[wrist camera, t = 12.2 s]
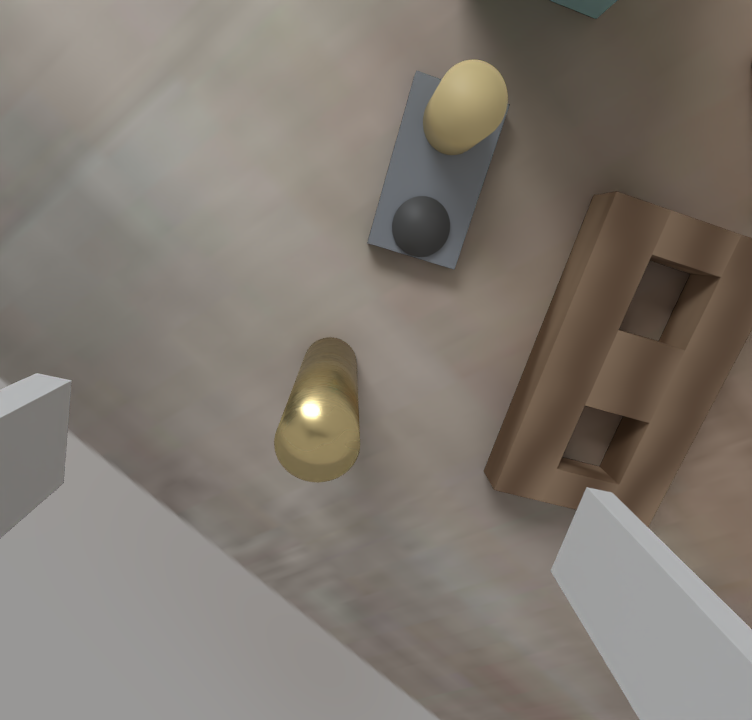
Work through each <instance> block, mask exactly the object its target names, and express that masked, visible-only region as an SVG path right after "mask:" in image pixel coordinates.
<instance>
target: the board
mask: <svg viewBox="0 0 752 720" xmlns="http://www.w3.org/2000/svg"><path fill="white" fill-rule="evenodd" d="M649 260H650V261H653V262H656V263H659V264H662V265H665V266H668V267H671V268H674V269H677V270H680V271H683V272H687V273H690V276H689V278H688V280H687V282H686V285H685V287H684V289H683V291H682V293H681V295H680V297H679V299H678V302H677V304H676V306H675V308H674V310H673V312H672V314H671V316H670V318H669V321H668V323H667V325H666V327H665V329H664V331H663V333H662V335H661V338H660V340H659V341H656V340H652V339H649V338H646V337H643V336H639V335H636V334H633V333H629V332H626V331H623V330H619V328H620V326H621V323H622V321H623V319H624V317H625V314H626V312H627V310H628V308H629V305H630V303H631V301H632V299H633V296H634V294H635V292H636V290H637V287H638V285H639V283H640V281H641V278H642V276H643V274H644V272H645V269H646V267H647V265H648V263H649ZM751 330H752V238H749V237H747V236H744V235H741V234H738V233H735V232H732V231H729V230H726V229H724V228H721V227H718V226H715V225H712V224H709V223H706V222H703V221H701V220H698V219H695V218H692V217H689V216H686V215H683V214H680V213H678V212H675V211H672V210H669V209H666V208H663V207H660V206H658V205H655V204H652V203H649V202H646V201H643V200H640V199H637V198H635V197H632V196H629V195H626V194H623V193H620V192H617V191H616V192H610V193H604V194H598V195H594V196H593V198H592V201H591V203H590V206H589V208H588V211H587V213H586V216H585V218H584V221H583V223H582V226H581V228H580V231H579V233H578V236H577V238H576V241H575V243H574V246H573V248H572V251H571V253H570V256H569V258H568V261H567V263H566V266H565V268H564V271H563V274H562V276H561V279H560V281H559V284H558V286H557V289H556V291H555V294H554V296H553V299H552V301H551V304H550V306H549V309H548V311H547V314H546V316H545V319H544V321H543V324H542V326H541V329H540V331H539V334H538V336H537V339H536V341H535V344H534V346H533V349H532V351H531V354H530V356H529V359H528V361H527V364H526V366H525V369H524V371H523V374H522V376H521V379H520V381H519V384H518V386H517V389H516V391H515V394H514V396H513V399H512V401H511V404H510V406H509V409H508V412H507V414H506V417H505V419H504V422H503V424H502V427H501V429H500V432H499V434H498V437H497V439H496V442H495V444H494V447H493V449H492V452H491V454H490V457H489V459H488V462H487V464H486V467H485V469H484V473H485V474H486V476H487V478H488V480H489V481H490V483H491V485H492V487H493V488H494V490H496V491H501V492H505V493H509V494H513V495H517V496H521V497H526V498H530V499H534V500H538V501H542V502H546V503H551V504H555V505H559V506H563V507H567V508H571V509H576V510H577V508H578V506H579V504H580V501H581V499H582V497H583V494H584V492H585V490H586V487H588V488H593V489H598V490H602V491H607V492H612V493H613V494H614V495H615V496H616V497H617V498H618V499H619V500H620V501H621V502H622V503H623V504H624V505H625V506H626V507H628V508H629V509H630V510H631V511H632V512H633V513H634V514H635V515H636V516H637V517H638V518H639V519H640V520H641V521H642V522H643V523H644V524H645V525H646V526H647V527H649V525H650V523H651V521H652V519H653V517H654V515H655V513H656V511H657V509H658V508H659V506H660V504H661V502H662V500H663V498H664V496H665V494H666V492H667V490H668V488H669V487H670V485H671V483H672V481H673V479H674V477H675V475H676V473H677V471H678V469H679V467H680V466H681V464H682V462H683V460H684V458H685V456H686V454H687V452H688V450H689V448H690V446H691V445H692V443H693V441H694V439H695V437H696V435H697V433H698V431H699V429H700V427H701V425H702V424H703V422H704V420H705V418H706V416H707V414H708V412H709V410H710V408H711V406H712V404H713V403H714V401H715V399H716V397H717V395H718V393H719V391H720V389H721V387H722V385H723V383H724V382H725V380H726V378H727V376H728V374H729V372H730V370H731V368H732V366H733V364H734V363H735V361H736V359H737V357H738V355H739V353H740V351H741V349H742V347H743V345H744V343H745V342H746V340H747V338H748V336H749V334H750V332H751ZM584 406H589V407H593V408H596V409H600V410H603V411H607V412H611V413H614V414H618V415H622V416H623V418H622V420H621V422H620V424H619V427H618V429H617V431H616V433H615V435H614V437H613V439H612V441H611V443H610V446H609V448H608V450H607V452H606V454H605V456H604V458H603V460H602V463H601V465H600V467H599V466H595V465H591V464H587V463H584V462H580V461H576V460H572V459H568V458H564V457H562V456H563V454H564V451H565V449H566V447H567V445H568V442H569V440H570V438H571V436H572V433H573V431H574V429H575V427H576V424H577V422H578V420H579V418H580V415H581V413H582V411H583V409H584Z"/></svg>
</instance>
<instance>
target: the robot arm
mask: <svg viewBox="0 0 752 720" xmlns="http://www.w3.org/2000/svg"><path fill="white" fill-rule="evenodd" d="M71 384H72V380H68V379H63V378H58V377H53V376H48V375H43V374H39V373H36V374H33V375H31V376H29V377H27V378H24V379H22V380H20V381H18V382H15V383H13V384H11V385H9V386H6V387H4V388H2V389H0V538H1V537H2V536H4V535H5V534H6V533H7V532H8V531H9V530H10V529H12V527H14V526H15V525H16V524H17V523H18V522H19V521H21V520H22V519H23V518H24V517H25V516H27V515H28V514H29V513H30V512H31V511H32V510H33V509H35V508H36V507H37V506H38V505H39V504H40V503H41V502H43V501H44V500H45V499H46V498H47V497H48V496H49V495H51V494H52V493H53V492H54V491H55V490H56V489H58V488H59V487H60V486H61V485H62V484H63V483H64V471H65V458H66V446H67V433H68V421H69V409H70V396H71ZM551 572H552V574H553V576H554V577H555V579H556V581H557V582H558V584H559V586H560V587H561V589H562V591H563V592H564V594H565V596H566V597H567V599H568V601H569V602H570V604H571V606H572V607H573V609H574V611H575V612H576V614H577V616H578V617H579V619H580V621H581V622H582V624H583V626H584V627H585V629H586V631H587V632H588V634H589V636H590V638H591V639H592V641H593V643H594V644H595V646H596V648H597V649H598V651H599V653H600V654H601V656H602V658H603V659H604V661H605V663H606V664H607V666H608V668H609V669H610V671H611V673H612V674H613V676H614V678H615V679H616V681H617V683H618V684H619V686H620V688H621V689H622V691H623V693H624V694H625V696H626V698H627V699H628V701H629V703H630V704H631V706H632V708H633V709H634V711H635V713H636V714H637V716H638V718H639V719H640V720H752V629H751V628H750V627H749V626H748V625H747V624H746V623H745V622H744V621H743V620H742V619H741V618H740V617H739V616H738V615H736V614H735V613H734V612H733V611H732V610H731V609H730V608H729V607H728V606H727V605H726V604H725V603H724V602H723V601H722V600H721V599H720V598H719V597H718V596H717V595H716V594H715V593H714V592H713V591H712V590H711V589H710V588H709V587H708V586H707V585H706V584H705V583H704V582H703V581H702V580H701V579H700V578H699V577H698V576H697V575H696V574H695V573H694V572H693V571H692V570H691V569H690V568H689V567H688V566H687V565H686V564H685V563H684V562H683V561H681V560H680V559H679V558H678V557H677V556H676V555H675V554H674V553H673V552H672V551H671V550H670V549H669V548H668V547H667V546H666V545H665V544H664V543H663V542H662V541H661V540H660V539H659V538H658V537H657V536H656V535H655V534H654V533H653V532H652V531H651V530H650V529H649V528H648V527H647V526H646V525H645V524H644V523H643V522H642V521H641V520H640V519H639V518H638V517H637V516H636V515H635V514H634V513H633V512H632V511H631V510H630V509H629V508H628V507H626V506H625V505H624V504H623V503H622V502H621V501H620V500H619V499H618V498H617V497H616V496H615V495H614V494H613V493H612V492H607V491H602V490H598V489H593V488H588V487H586V490H585V492H584V494H583V497H582V499H581V501H580V504H579V506H578V508H577V511H576V513H575V515H574V518H573V520H572V522H571V525H570V527H569V529H568V532H567V534H566V536H565V539H564V541H563V543H562V546H561V548H560V550H559V553H558V555H557V557H556V560H555V562H554V564H553V567H552V569H551Z"/></svg>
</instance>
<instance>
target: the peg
mask: <svg viewBox="0 0 752 720" xmlns="http://www.w3.org/2000/svg"><path fill="white" fill-rule="evenodd" d="M274 446H275V452H276V455H277V458H278V460H279V462H280V463H281V465H282V466H283V467H284V468H285V469H286V470H287V471H288V472H289V473H290V474H292V475H293V476H295V477H297V478H299V479H302V480H305V481H309V482H326V481H330V480H334V479H336V478H338V477H340V476H342V475H343V474H345V473H346V472H347V471H348V470H349V469H350V468H351V467H352V466H353V464H354V463H355V461H356V459H357V457H358V454H359V450H360V432H359V409H358V387H357V365H356V356H355V353H354V351H353V350H352V348H351V347H350V346H349V345H348V344H347V343H346V342H344V341H342V340H340V339H337V338H323V339H320V340H318V341H316V342H314V343H313V344H312V345H311V346H310V347H309V349H308V350H307V352H306V354H305V357H304V360H303V362H302V365H301V368H300V370H299V373H298V375H297V378H296V381H295V383H294V386H293V389H292V391H291V394H290V397H289V399H288V402H287V405H286V407H285V410H284V412H283V415H282V418H281V420H280V423H279V426H278V428H277V431H276V434H275V439H274Z"/></svg>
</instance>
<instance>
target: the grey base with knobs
mask: <svg viewBox="0 0 752 720" xmlns="http://www.w3.org/2000/svg"><path fill="white" fill-rule="evenodd" d="M507 103H508V94H507V88H506V85H505V82H504V80H503V77H502V76H501V74H500V73H499V72H498V71H497V69H496V68H494V67H493V66H492V65H490V64H489V63H487V62H485V61H481V60H466V61H463V62H460V63H458V64H456V65H455V66H453V67H452V68H451V69H450V70H449V71H448V72H447V73H446V74H445V75H444V77H443V78H442V80H441V79H439V78H436V77H433V76H430V75H428V74H425V73H422V72H419V71H416V73H415V76H414V79H413V82H412V86H411V90H410V93H409V97H408V100H407V104H406V107H405V111H404V114H403V118H402V122H401V125H400V129H399V132H398V136H397V139H396V143H395V146H394V150H393V153H392V157H391V161H390V164H389V168H388V171H387V175H386V178H385V182H384V185H383V189H382V193H381V196H380V200H379V203H378V207H377V210H376V214H375V217H374V221H373V224H372V228H371V232H370V235H369V239H368V242H367V243H369V244H372V245H376V246H379V247H382V248H385V249H389V250H392V251H395V252H399V253H402V254H405V255H408V256H412V257H415V258H418V259H421V260H425V261H428V262H431V263H434V264H438V265H441V266H444V267H448V268H451V269H455V266H456V263H457V260H458V257H459V254H460V251H461V248H462V245H463V242H464V239H465V236H466V233H467V230H468V227H469V225H470V222H471V219H472V216H473V213H474V210H475V207H476V204H477V201H478V198H479V195H480V192H481V189H482V186H483V183H484V180H485V177H486V174H487V171H488V168H489V165H490V162H491V159H492V156H493V153H494V150H495V147H496V144H497V141H498V138H499V135H500V132H501V129H502V126H503V123H504V120H505V117H506V114H507V111H508V108H509V105H510V104H507Z"/></svg>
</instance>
